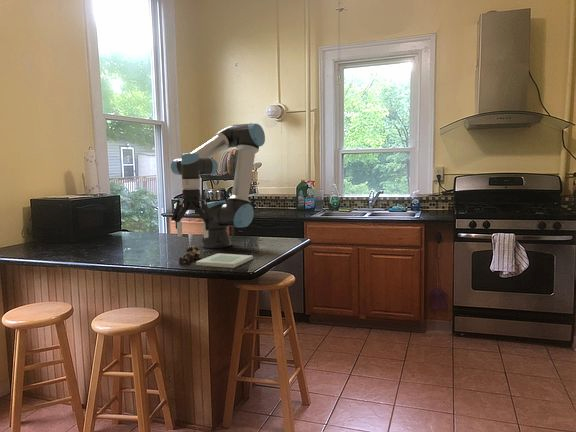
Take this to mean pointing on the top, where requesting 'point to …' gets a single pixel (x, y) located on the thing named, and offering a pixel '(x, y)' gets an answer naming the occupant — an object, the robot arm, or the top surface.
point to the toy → (190, 255)
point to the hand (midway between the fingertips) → (192, 237)
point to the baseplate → (224, 260)
